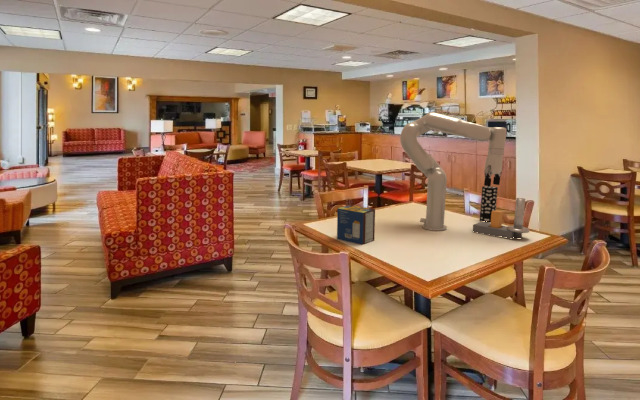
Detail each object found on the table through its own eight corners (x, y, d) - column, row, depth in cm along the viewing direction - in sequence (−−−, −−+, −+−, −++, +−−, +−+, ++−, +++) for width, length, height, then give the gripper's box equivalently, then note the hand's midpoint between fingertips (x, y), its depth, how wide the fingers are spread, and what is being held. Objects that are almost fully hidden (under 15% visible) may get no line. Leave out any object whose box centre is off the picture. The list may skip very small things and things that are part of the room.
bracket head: (472, 231, 221) (473, 224, 221) (480, 229, 228) (480, 221, 227) (511, 239, 207) (512, 231, 207) (518, 236, 214) (519, 228, 213)
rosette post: (502, 238, 210) (506, 198, 206) (510, 234, 217) (514, 196, 213) (523, 242, 203) (527, 201, 199) (531, 238, 210) (535, 198, 206)
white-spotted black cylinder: (488, 219, 252) (490, 185, 248) (498, 222, 244) (500, 187, 240) (476, 220, 249) (479, 186, 246) (486, 223, 241) (489, 188, 238)
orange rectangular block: (489, 234, 217) (491, 211, 215) (493, 232, 220) (495, 210, 218) (497, 235, 215) (499, 212, 212) (500, 234, 217) (502, 211, 215)
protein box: (348, 234, 214) (349, 204, 211) (374, 240, 204) (375, 208, 201) (336, 239, 206) (336, 207, 203) (362, 245, 196) (363, 212, 193)
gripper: (496, 150, 222) (492, 183, 226) (480, 151, 211) (476, 185, 214) (510, 152, 217) (506, 185, 220) (495, 152, 206) (490, 187, 209)
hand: (491, 185), depth 217 cm, fingers open, 9 cm apart
